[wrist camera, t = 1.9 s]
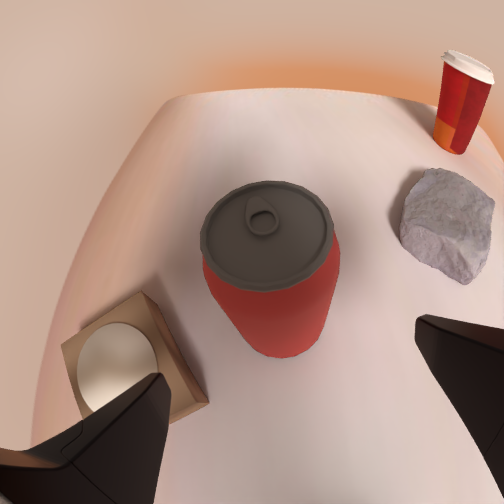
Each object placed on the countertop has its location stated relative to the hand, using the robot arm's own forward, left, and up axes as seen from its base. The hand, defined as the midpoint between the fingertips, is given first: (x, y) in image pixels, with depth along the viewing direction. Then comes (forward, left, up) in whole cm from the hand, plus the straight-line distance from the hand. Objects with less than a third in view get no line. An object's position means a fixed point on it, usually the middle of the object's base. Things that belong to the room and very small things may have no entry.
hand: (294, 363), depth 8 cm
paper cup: (+37, -8, -12) cm, 40 cm away
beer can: (+4, +3, -12) cm, 13 cm away
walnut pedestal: (-7, +11, -12) cm, 18 cm away
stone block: (+20, -7, -12) cm, 25 cm away
